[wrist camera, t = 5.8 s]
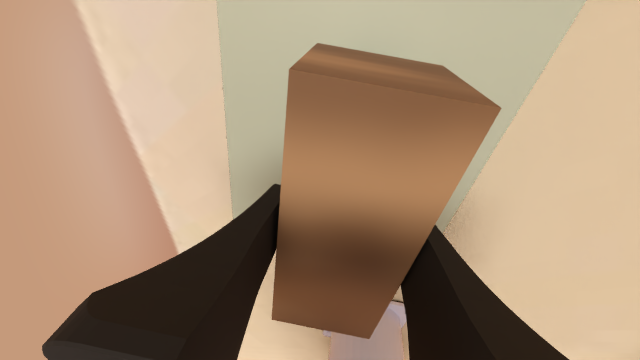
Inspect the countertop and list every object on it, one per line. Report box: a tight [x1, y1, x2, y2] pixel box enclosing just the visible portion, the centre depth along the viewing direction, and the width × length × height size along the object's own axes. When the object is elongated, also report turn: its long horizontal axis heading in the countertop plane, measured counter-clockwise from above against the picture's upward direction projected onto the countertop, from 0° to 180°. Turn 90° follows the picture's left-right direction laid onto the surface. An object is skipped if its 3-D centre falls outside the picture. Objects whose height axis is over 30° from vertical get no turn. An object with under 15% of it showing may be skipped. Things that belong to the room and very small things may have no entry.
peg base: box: [217, 0, 587, 234], centre depth 15 cm, size 20×16×4 cm
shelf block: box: [272, 43, 502, 339], centre depth 11 cm, size 12×5×5 cm, turn 172°
